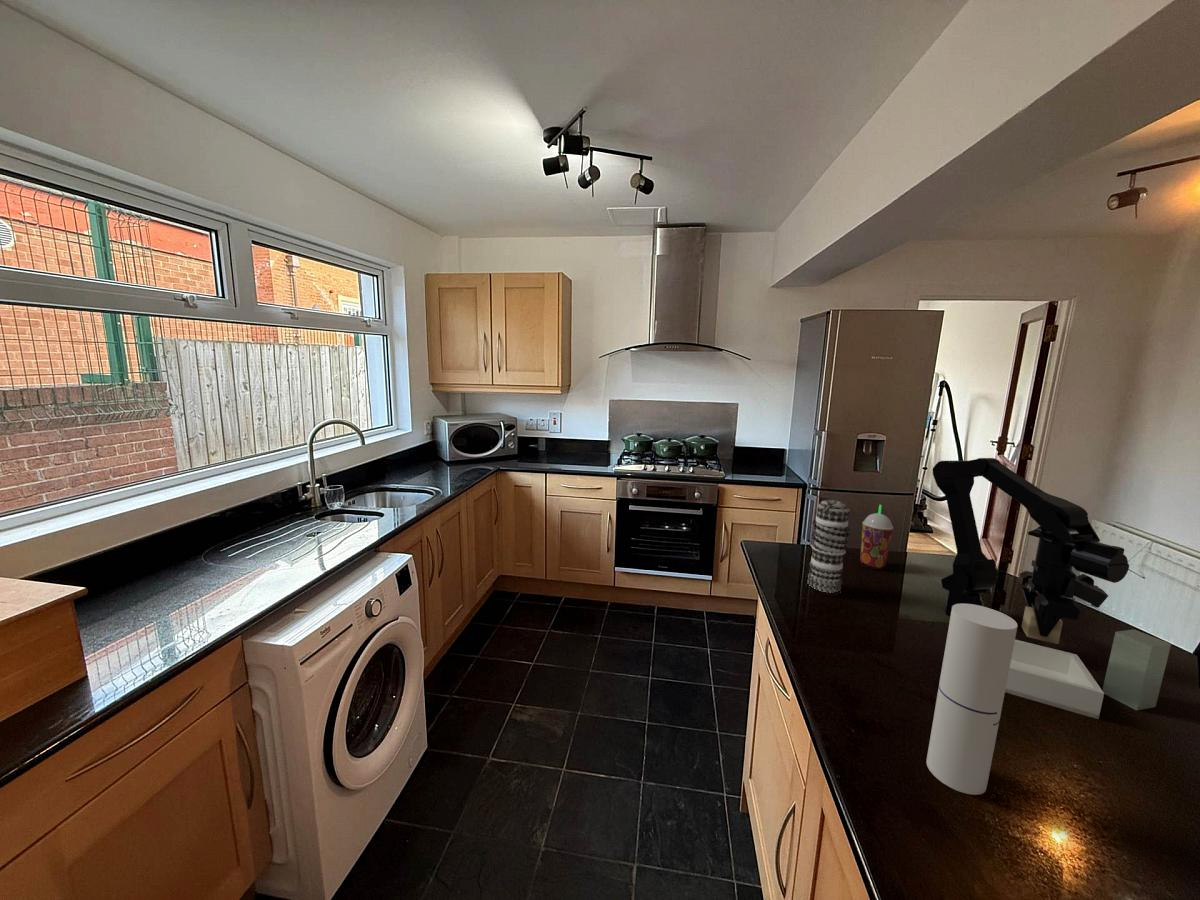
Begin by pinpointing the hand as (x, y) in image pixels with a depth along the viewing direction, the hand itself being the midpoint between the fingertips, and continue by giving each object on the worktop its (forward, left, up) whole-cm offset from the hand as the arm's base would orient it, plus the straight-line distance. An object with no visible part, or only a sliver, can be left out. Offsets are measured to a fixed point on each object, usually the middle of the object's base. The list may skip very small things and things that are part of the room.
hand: (1040, 630), depth 102 cm
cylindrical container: (-19, -51, -5) cm, 55 cm away
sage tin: (+11, -11, -5) cm, 16 cm away
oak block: (0, 0, -1) cm, 1 cm away
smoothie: (-32, +34, -5) cm, 47 cm away
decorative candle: (-43, +6, -5) cm, 44 cm away
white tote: (-5, -15, -5) cm, 17 cm away
